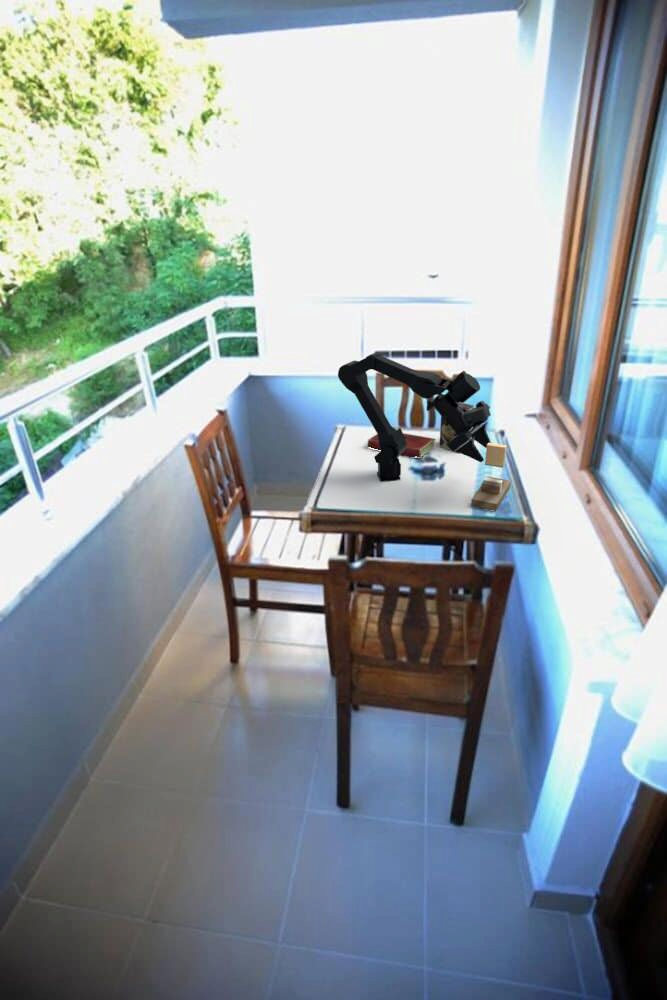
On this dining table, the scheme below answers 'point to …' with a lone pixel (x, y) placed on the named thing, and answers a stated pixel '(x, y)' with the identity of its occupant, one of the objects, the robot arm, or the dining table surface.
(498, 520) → the dining table surface
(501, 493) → the stand
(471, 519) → the dining table surface
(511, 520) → the dining table surface
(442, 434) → the coffee box
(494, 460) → the stub
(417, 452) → the hardcover book
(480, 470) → the dining table surface
